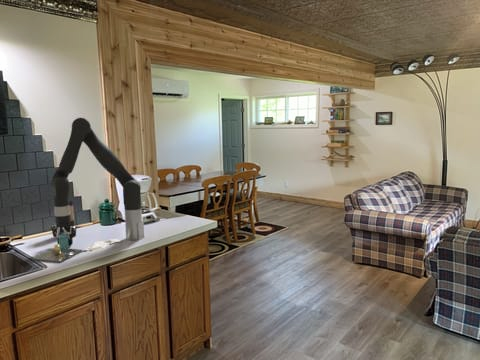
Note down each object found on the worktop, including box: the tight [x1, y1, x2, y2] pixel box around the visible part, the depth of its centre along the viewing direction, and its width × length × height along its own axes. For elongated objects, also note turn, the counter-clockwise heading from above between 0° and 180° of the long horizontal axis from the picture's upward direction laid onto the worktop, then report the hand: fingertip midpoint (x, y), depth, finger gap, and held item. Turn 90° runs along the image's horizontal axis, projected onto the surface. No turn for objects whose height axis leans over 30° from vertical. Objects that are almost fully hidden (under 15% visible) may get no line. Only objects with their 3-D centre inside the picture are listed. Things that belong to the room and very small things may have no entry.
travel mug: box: [69, 200, 75, 226], centre depth 212 cm, size 8×8×20 cm
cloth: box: [81, 238, 123, 253], centre depth 195 cm, size 26×14×2 cm, turn 134°
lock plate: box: [31, 243, 83, 264], centre depth 178 cm, size 16×16×6 cm
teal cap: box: [58, 232, 72, 249], centre depth 191 cm, size 10×6×7 cm, turn 168°
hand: (65, 244), depth 192 cm, fingers closed on teal cap, 5 cm apart
